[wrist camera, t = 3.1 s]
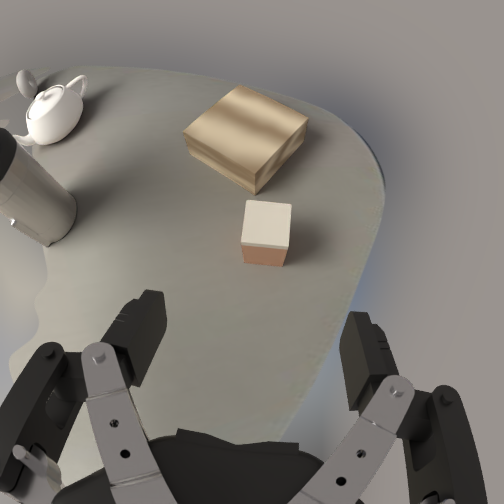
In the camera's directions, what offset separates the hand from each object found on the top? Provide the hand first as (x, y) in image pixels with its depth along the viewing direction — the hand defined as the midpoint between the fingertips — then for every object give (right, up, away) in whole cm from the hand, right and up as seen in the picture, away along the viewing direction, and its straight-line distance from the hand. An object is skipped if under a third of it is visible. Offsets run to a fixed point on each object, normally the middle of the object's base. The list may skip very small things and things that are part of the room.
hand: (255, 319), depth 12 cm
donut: (-61, +47, +42) cm, 88 cm away
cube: (+2, +4, +27) cm, 27 cm away
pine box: (-1, +19, +32) cm, 38 cm away
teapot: (-42, +30, +36) cm, 63 cm away
